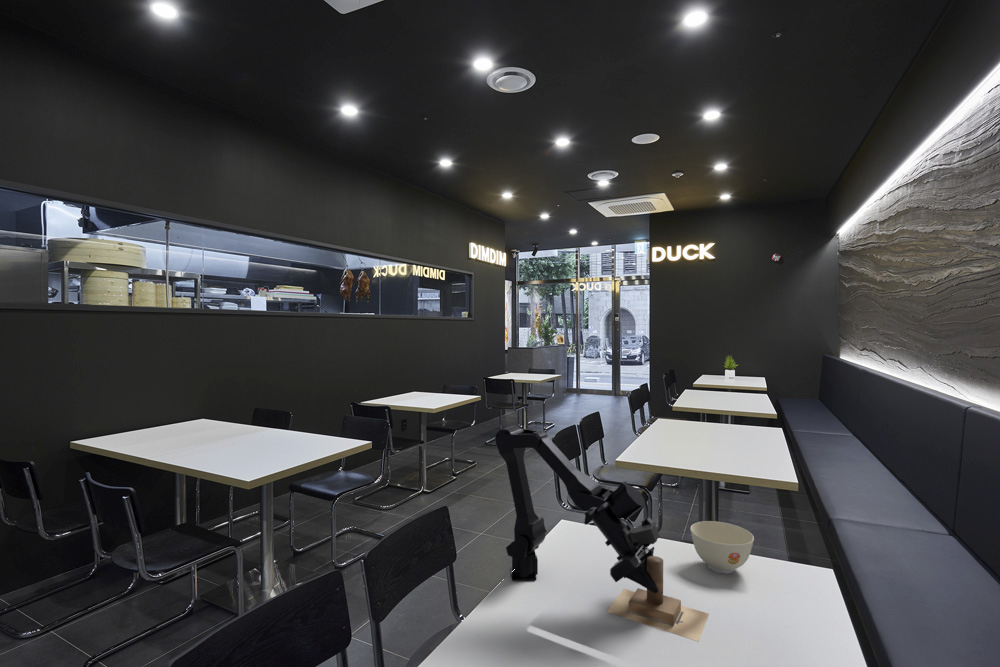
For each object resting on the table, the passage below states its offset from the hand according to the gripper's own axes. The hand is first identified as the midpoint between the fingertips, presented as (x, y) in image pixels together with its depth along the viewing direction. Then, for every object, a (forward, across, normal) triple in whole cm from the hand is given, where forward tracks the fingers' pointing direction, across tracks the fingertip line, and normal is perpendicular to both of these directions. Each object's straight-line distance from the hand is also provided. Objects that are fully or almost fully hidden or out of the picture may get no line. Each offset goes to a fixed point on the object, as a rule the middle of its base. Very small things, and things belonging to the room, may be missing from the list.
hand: (659, 588), depth 114 cm
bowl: (+11, +33, -1) cm, 35 cm away
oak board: (+5, 0, +5) cm, 7 cm away
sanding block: (+3, 0, +5) cm, 6 cm away
